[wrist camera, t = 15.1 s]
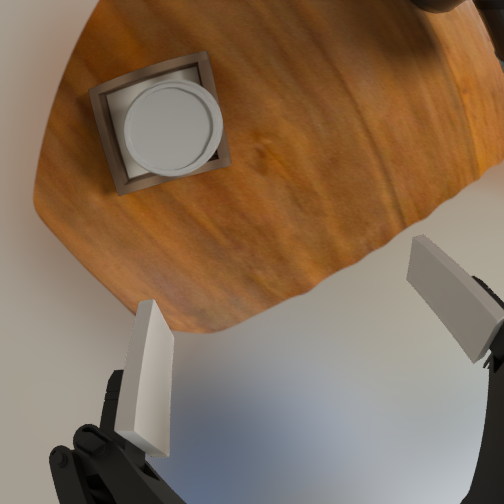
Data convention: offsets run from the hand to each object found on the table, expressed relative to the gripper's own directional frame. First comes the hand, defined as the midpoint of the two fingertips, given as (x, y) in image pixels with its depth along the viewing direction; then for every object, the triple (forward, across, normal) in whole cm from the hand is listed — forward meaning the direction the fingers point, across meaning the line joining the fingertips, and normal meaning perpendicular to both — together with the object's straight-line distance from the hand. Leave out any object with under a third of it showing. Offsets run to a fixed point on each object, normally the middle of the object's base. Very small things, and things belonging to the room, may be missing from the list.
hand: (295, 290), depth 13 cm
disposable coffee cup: (+28, -6, +7) cm, 29 cm away
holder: (+29, -9, +8) cm, 31 cm away
